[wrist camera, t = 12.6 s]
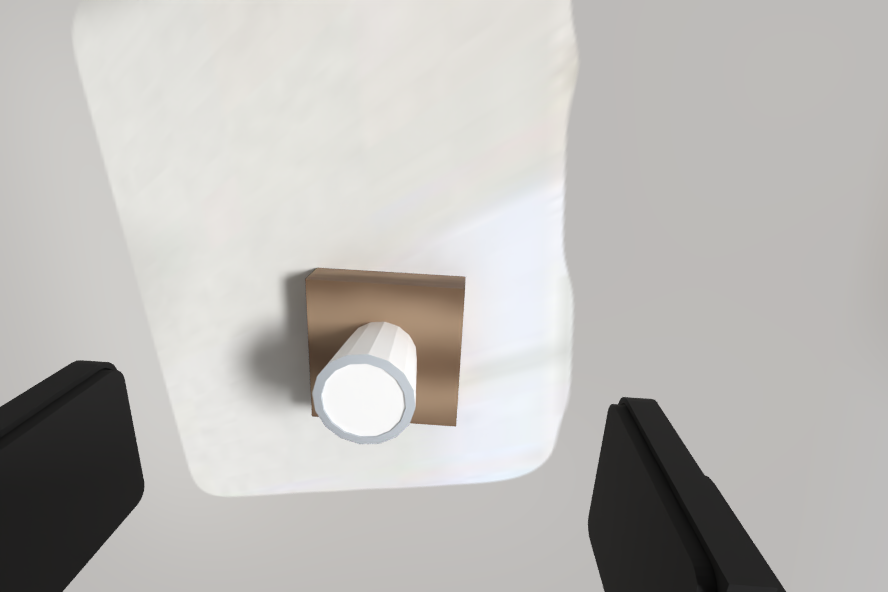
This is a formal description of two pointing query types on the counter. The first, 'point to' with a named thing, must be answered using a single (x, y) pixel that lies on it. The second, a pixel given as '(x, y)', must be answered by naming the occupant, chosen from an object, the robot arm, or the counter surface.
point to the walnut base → (399, 303)
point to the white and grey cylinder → (369, 385)
